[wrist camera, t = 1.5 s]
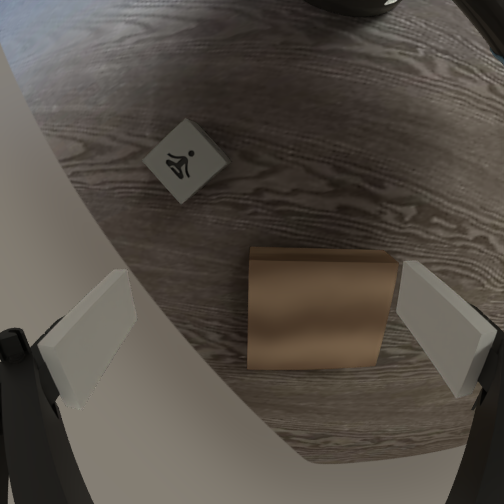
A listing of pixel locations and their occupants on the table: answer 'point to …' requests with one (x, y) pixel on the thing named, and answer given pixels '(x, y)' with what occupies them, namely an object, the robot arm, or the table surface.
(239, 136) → the table surface
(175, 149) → the dice cube
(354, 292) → the brown flat block
